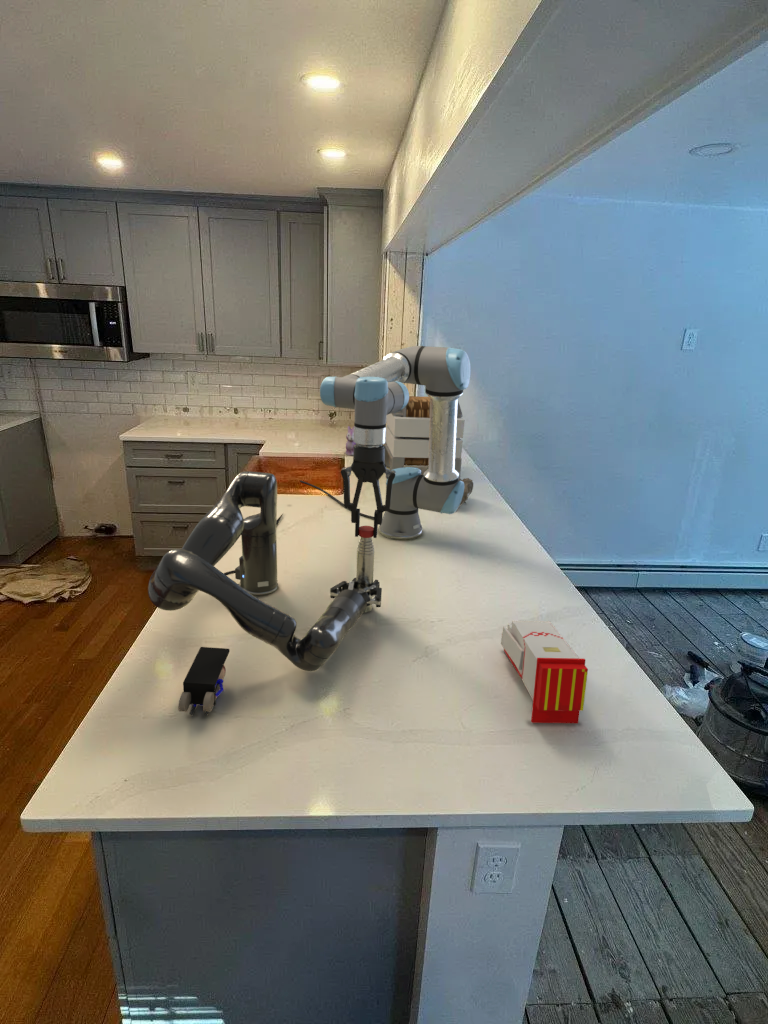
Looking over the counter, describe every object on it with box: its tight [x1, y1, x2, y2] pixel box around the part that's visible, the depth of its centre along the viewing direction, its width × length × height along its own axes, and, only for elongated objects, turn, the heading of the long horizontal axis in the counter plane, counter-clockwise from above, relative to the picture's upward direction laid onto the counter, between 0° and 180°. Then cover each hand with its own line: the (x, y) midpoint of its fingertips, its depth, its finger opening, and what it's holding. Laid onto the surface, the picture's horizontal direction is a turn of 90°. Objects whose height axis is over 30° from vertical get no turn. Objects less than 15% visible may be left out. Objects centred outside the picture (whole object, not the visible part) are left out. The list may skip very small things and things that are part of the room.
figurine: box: [344, 425, 356, 456], centre depth 303 cm, size 9×10×15 cm
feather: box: [276, 513, 284, 527], centre depth 210 cm, size 2×28×2 cm
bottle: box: [355, 537, 375, 614], centre depth 146 cm, size 4×4×22 cm
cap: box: [358, 525, 374, 538], centre depth 142 cm, size 4×4×2 cm
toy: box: [500, 620, 589, 724], centre depth 121 cm, size 12×13×30 cm
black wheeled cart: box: [178, 646, 230, 717], centre depth 112 cm, size 7×8×15 cm
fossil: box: [458, 477, 474, 508], centre depth 233 cm, size 22×10×15 cm
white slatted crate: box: [383, 395, 465, 479], centre depth 268 cm, size 34×33×41 cm
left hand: (368, 581), depth 150 cm, fingers closed on bottle, 4 cm apart
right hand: (366, 535), depth 142 cm, fingers closed on cap, 4 cm apart
